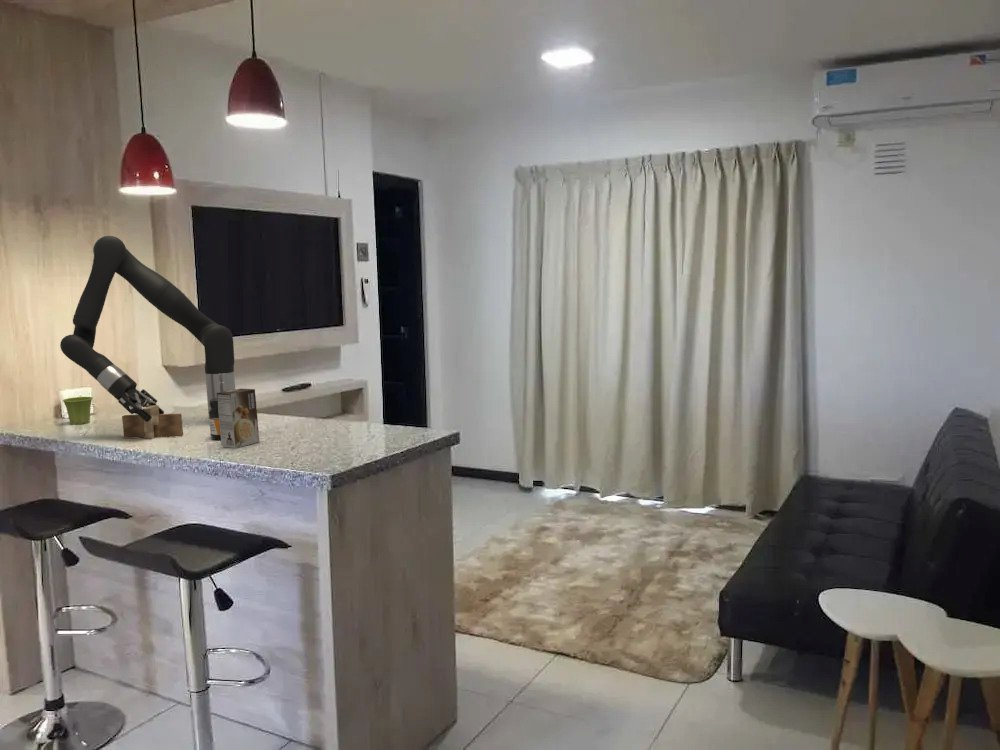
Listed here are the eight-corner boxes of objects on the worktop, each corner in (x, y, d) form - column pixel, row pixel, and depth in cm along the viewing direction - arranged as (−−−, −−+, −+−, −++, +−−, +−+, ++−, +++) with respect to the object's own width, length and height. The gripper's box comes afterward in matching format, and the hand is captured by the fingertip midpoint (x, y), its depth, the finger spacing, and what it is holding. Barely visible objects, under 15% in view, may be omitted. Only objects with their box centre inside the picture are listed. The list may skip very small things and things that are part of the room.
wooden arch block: (145, 438, 253) (142, 408, 252) (153, 435, 259) (151, 405, 258) (152, 438, 253) (149, 408, 252) (161, 434, 259) (158, 405, 258)
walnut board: (124, 438, 256) (121, 416, 255) (127, 436, 258) (125, 415, 257) (180, 436, 255) (178, 414, 254) (183, 435, 257) (181, 413, 256)
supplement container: (205, 441, 246) (202, 402, 244) (216, 434, 256) (213, 396, 255) (240, 440, 246) (237, 400, 245) (250, 433, 257) (247, 395, 255)
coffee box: (245, 440, 245) (241, 387, 243) (260, 442, 242) (256, 388, 240) (220, 446, 237) (216, 392, 235) (235, 448, 234) (230, 393, 232)
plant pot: (100, 421, 288) (98, 397, 287) (74, 426, 280) (72, 401, 279) (85, 419, 293) (83, 396, 292) (59, 424, 285) (57, 400, 284)
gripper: (112, 376, 247) (153, 412, 248) (135, 370, 261) (173, 405, 262) (97, 394, 248) (137, 430, 249) (120, 387, 262) (158, 421, 263)
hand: (156, 417), depth 255 cm, fingers open, 8 cm apart
